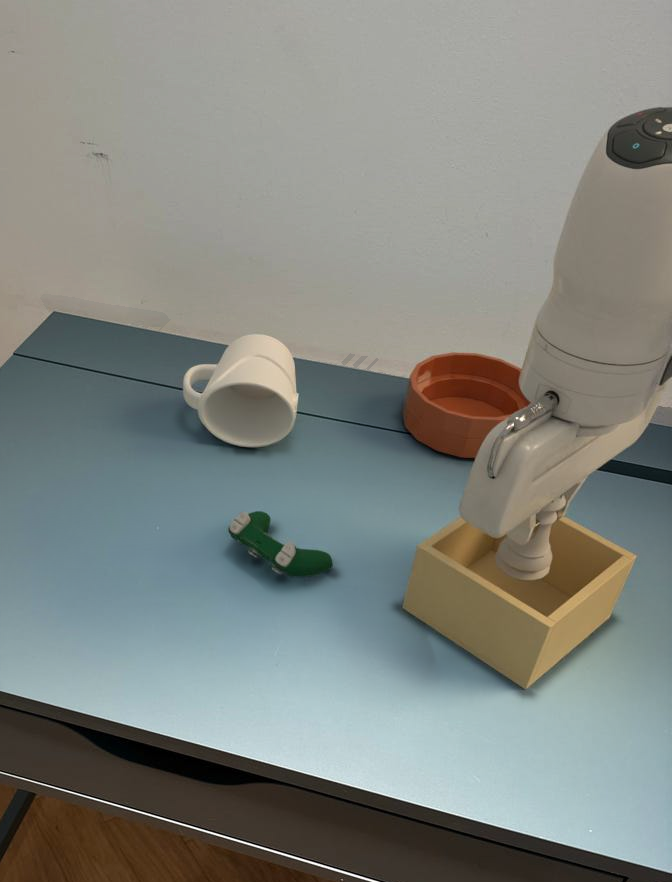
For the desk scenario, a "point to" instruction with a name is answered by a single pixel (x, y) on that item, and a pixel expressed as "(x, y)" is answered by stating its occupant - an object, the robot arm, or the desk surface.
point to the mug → (247, 392)
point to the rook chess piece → (530, 548)
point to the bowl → (460, 400)
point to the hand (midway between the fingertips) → (535, 527)
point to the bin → (516, 596)
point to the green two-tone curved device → (277, 547)
